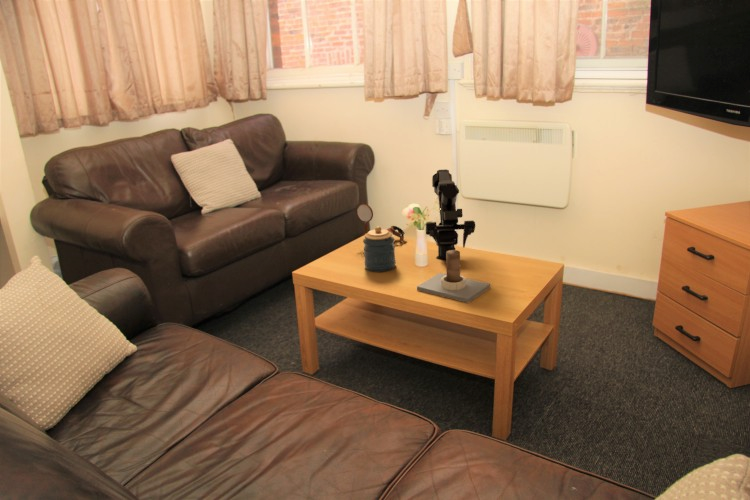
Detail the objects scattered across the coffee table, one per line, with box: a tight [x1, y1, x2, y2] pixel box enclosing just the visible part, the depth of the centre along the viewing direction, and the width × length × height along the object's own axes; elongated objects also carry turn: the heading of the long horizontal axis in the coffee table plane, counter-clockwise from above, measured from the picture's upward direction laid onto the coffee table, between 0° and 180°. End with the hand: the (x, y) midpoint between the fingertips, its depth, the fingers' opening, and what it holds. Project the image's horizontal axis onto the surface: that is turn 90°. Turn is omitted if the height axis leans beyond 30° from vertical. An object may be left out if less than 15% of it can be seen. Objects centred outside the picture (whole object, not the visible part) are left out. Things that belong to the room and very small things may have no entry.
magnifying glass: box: [356, 203, 374, 239], centre depth 269 cm, size 9×2×20 cm, turn 57°
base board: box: [416, 272, 491, 304], centre depth 220 cm, size 22×16×4 cm
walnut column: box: [445, 249, 461, 283], centre depth 218 cm, size 5×5×13 cm
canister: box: [362, 225, 397, 273], centre depth 243 cm, size 13×13×18 cm
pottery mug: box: [386, 225, 406, 243], centre depth 275 cm, size 12×10×8 cm
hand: (451, 247), depth 224 cm, fingers open, 9 cm apart
